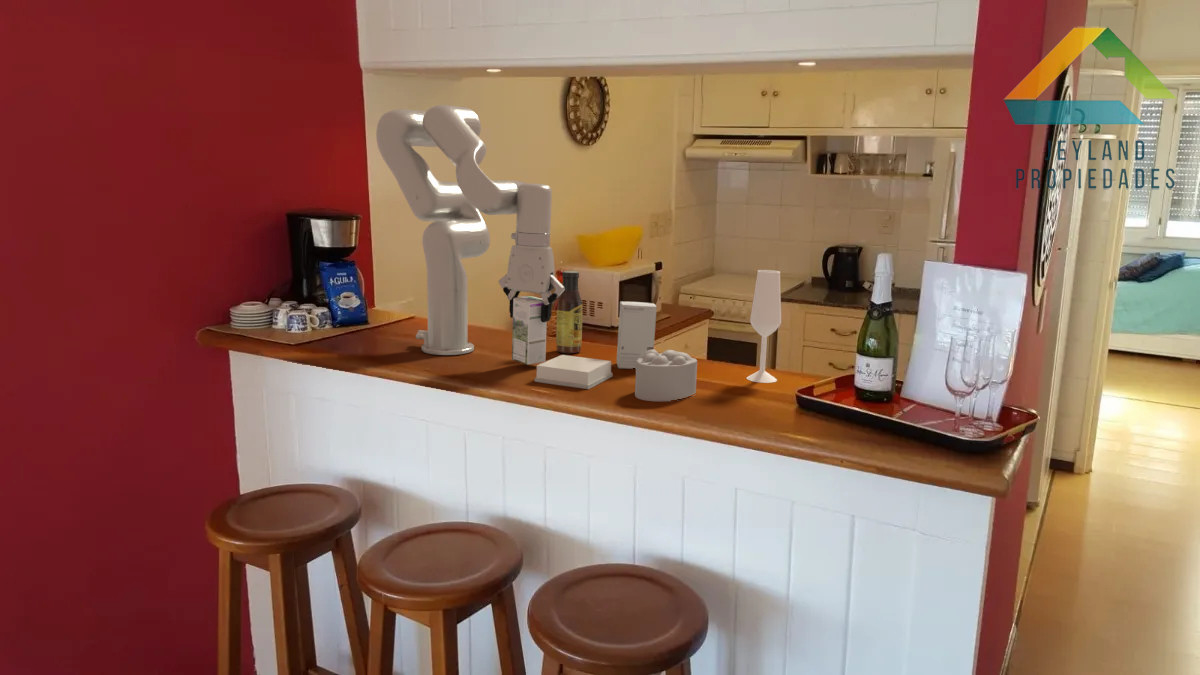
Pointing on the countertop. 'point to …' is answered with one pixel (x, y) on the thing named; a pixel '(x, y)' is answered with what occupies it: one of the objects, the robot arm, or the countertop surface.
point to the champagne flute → (765, 316)
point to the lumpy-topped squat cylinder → (665, 376)
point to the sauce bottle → (569, 315)
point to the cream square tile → (574, 371)
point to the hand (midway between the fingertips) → (530, 318)
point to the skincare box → (635, 332)
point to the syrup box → (528, 331)
